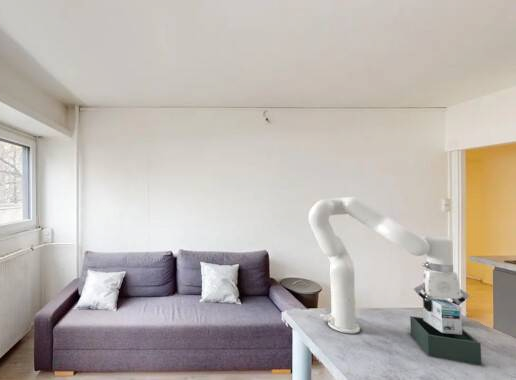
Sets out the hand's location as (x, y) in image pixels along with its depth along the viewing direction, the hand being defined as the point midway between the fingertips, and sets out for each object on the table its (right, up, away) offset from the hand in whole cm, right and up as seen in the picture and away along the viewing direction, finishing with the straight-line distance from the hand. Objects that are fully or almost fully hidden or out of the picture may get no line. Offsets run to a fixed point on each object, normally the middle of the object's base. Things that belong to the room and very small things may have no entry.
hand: (441, 311), depth 105 cm
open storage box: (0, -14, 0) cm, 14 cm away
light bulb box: (0, -6, 0) cm, 6 cm away
